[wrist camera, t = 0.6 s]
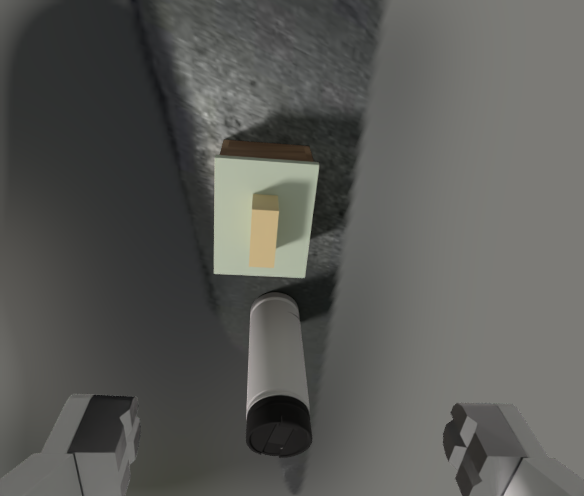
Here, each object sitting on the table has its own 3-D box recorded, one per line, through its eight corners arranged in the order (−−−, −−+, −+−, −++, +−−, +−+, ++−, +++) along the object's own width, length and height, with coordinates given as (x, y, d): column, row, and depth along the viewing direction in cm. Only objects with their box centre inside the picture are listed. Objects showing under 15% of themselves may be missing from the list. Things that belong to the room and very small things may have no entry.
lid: (216, 152, 41) (210, 171, 37) (317, 159, 42) (323, 178, 38) (215, 265, 48) (210, 293, 43) (303, 269, 48) (307, 297, 44)
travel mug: (305, 295, 57) (324, 428, 39) (289, 333, 60) (300, 472, 42) (259, 284, 55) (257, 416, 38) (244, 323, 58) (237, 462, 41)
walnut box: (223, 139, 46) (218, 158, 41) (309, 146, 47) (314, 165, 42) (221, 240, 52) (217, 267, 47) (297, 244, 53) (301, 271, 48)
